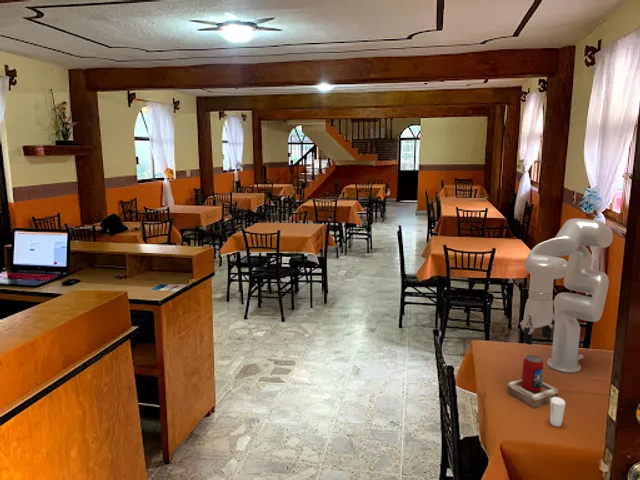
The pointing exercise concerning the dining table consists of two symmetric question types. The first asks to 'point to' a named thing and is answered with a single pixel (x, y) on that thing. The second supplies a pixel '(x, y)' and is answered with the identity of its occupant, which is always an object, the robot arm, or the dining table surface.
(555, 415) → the milkshake
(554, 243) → the robot arm
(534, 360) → the beverage can
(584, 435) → the dining table surface
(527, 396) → the white square tray
